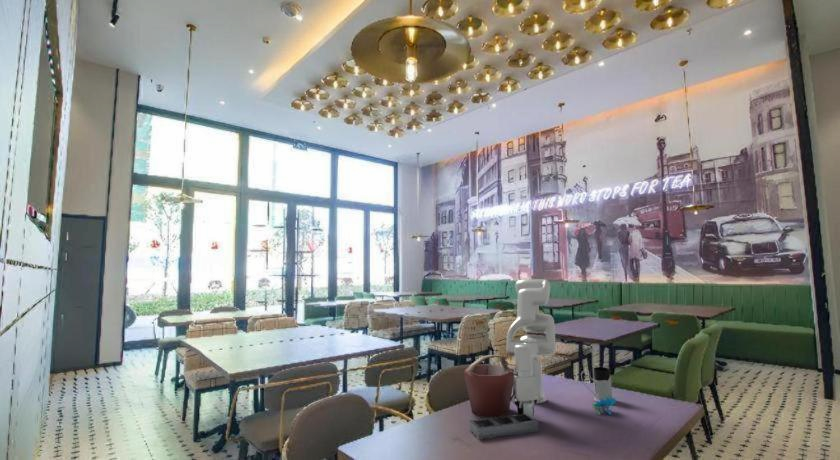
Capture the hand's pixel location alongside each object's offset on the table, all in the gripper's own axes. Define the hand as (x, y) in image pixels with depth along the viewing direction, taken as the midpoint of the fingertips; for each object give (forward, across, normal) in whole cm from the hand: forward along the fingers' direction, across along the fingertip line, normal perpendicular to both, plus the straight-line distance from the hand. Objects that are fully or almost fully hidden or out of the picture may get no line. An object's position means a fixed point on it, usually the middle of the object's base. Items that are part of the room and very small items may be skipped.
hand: (525, 415), depth 172 cm
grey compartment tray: (+1, -15, -9) cm, 18 cm away
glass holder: (+2, +47, +12) cm, 48 cm away
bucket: (+2, -10, +14) cm, 17 cm away
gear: (+2, +38, -4) cm, 38 cm away
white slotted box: (+1, 0, 0) cm, 1 cm away
